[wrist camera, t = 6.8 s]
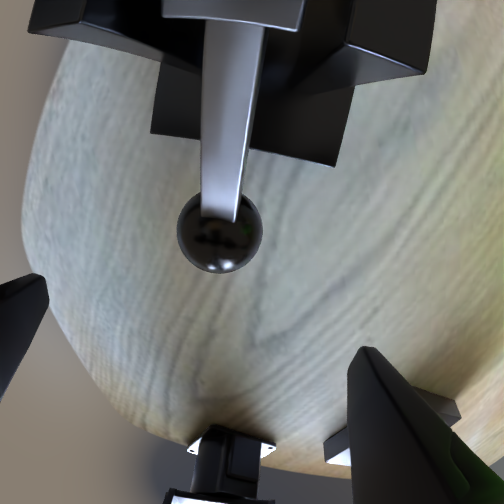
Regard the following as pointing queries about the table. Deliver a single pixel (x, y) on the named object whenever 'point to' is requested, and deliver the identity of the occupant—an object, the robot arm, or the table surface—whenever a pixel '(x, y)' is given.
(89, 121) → the table surface
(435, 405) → the control block
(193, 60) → the bracket
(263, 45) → the lever
